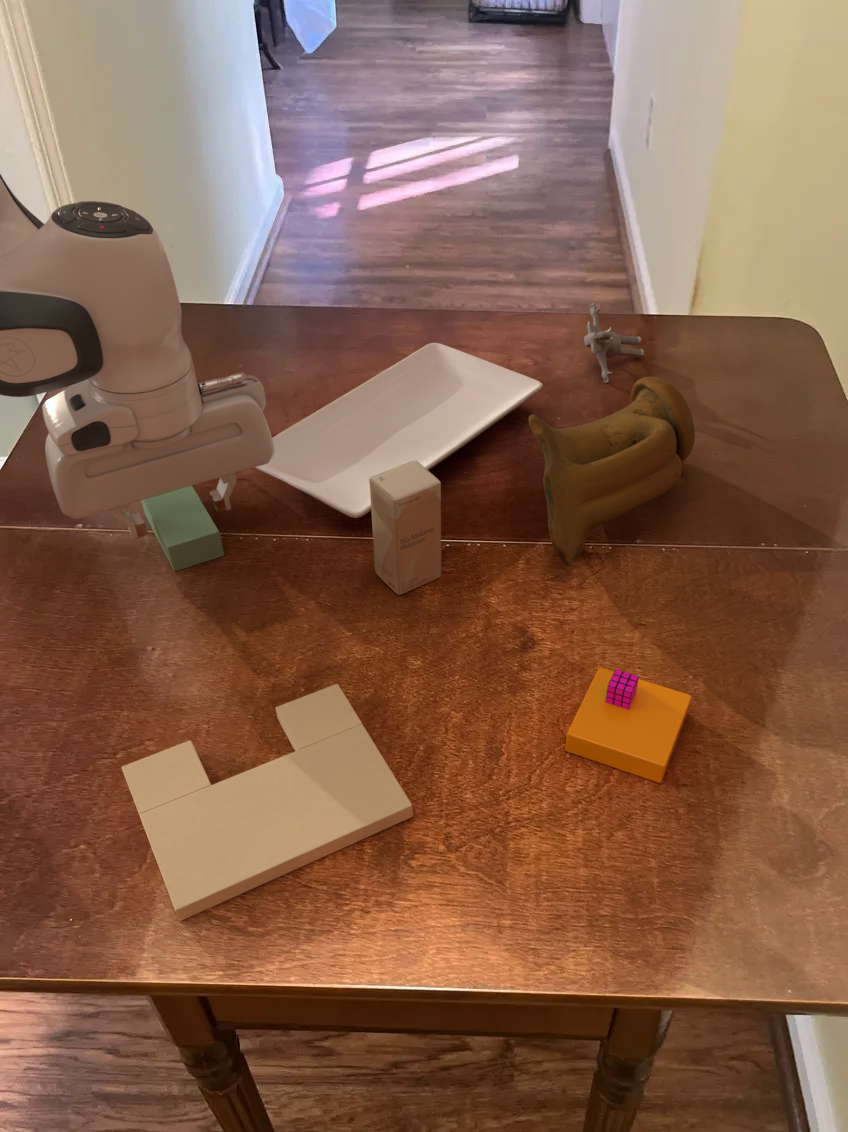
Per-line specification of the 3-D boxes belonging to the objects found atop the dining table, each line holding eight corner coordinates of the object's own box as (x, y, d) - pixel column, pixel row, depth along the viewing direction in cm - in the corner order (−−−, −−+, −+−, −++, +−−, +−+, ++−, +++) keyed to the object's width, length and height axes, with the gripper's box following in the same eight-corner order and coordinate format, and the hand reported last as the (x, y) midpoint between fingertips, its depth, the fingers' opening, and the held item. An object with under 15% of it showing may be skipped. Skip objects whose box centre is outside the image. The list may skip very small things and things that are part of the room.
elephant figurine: (662, 377, 120) (608, 371, 114) (628, 395, 125) (575, 390, 119) (647, 299, 121) (593, 290, 115) (614, 320, 125) (561, 312, 120)
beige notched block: (179, 921, 68) (175, 910, 67) (125, 778, 76) (121, 766, 75) (413, 816, 74) (412, 805, 73) (339, 695, 83) (337, 683, 82)
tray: (243, 481, 104) (238, 453, 101) (434, 363, 121) (433, 337, 119) (360, 544, 97) (357, 516, 94) (545, 409, 114) (547, 382, 112)
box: (398, 597, 91) (391, 501, 83) (373, 572, 94) (365, 477, 86) (444, 575, 93) (442, 480, 86) (419, 551, 96) (415, 457, 88)
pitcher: (449, 418, 99) (632, 336, 104) (484, 528, 106) (654, 447, 111) (531, 463, 84) (740, 366, 89) (566, 589, 91) (758, 492, 96)
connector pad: (224, 555, 95) (219, 531, 93) (174, 572, 94) (167, 547, 91) (193, 500, 101) (187, 476, 99) (145, 514, 100) (138, 490, 98)
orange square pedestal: (688, 712, 82) (696, 678, 79) (661, 784, 76) (669, 750, 73) (596, 684, 84) (601, 649, 81) (564, 751, 79) (568, 716, 76)
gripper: (248, 352, 92) (270, 474, 102) (22, 409, 85) (69, 534, 95) (272, 383, 88) (292, 507, 98) (37, 445, 81) (84, 572, 91)
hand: (181, 521), depth 96 cm, fingers open, 7 cm apart
